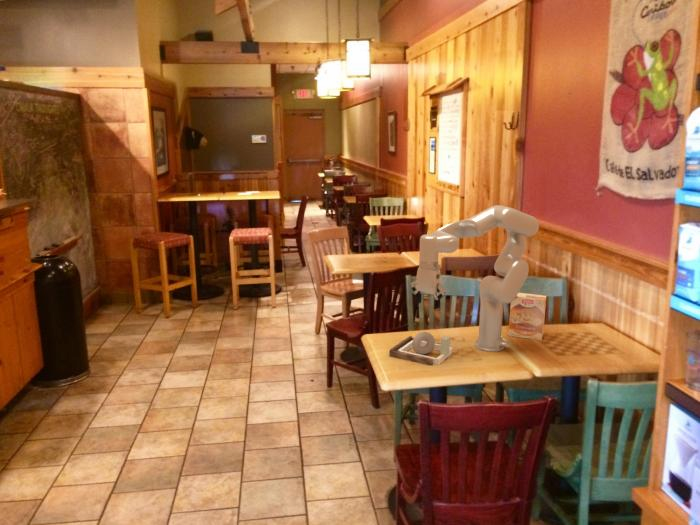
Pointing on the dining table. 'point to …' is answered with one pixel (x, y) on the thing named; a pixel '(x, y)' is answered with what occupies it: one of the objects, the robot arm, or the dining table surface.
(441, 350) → the white open rectangular frame
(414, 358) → the brown piece
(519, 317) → the coffeecake box
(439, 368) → the dining table surface
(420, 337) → the grey wheel
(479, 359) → the dining table surface
